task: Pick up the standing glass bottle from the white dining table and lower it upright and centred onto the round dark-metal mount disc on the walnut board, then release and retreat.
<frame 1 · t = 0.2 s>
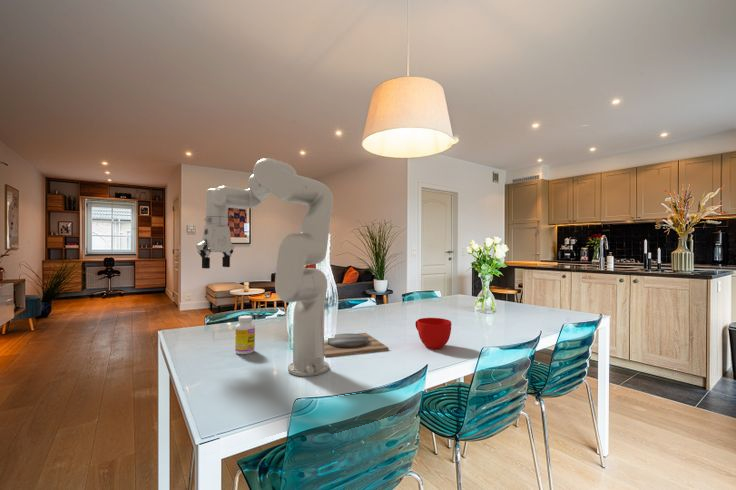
hand: (216, 267, 131), 30 cm above the table, tool pointing down, fingers open, 9 cm apart
mount board: (348, 344, 137), on the table
ceramic cup: (430, 346, 136), on the table
supplement bottle: (245, 352, 127), on the table
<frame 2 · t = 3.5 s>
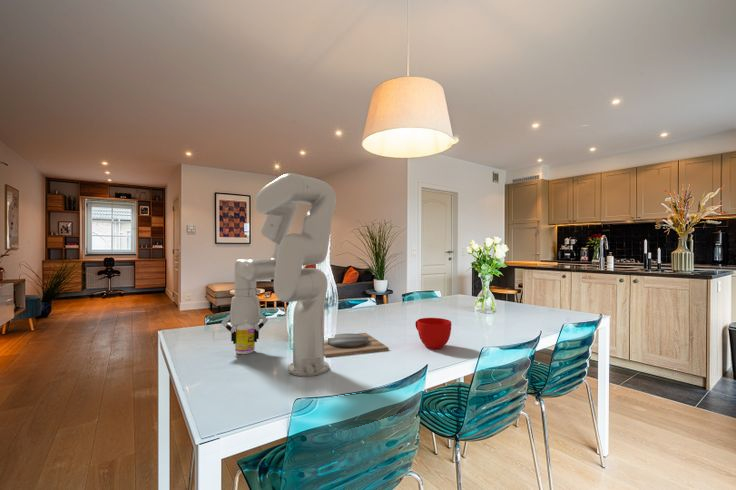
hand: (245, 341, 127), 4 cm above the table, tool pointing down, fingers closed on supplement bottle, 6 cm apart
supplement bottle: (245, 352, 127), on the table, touching gripper
everything else where it was.
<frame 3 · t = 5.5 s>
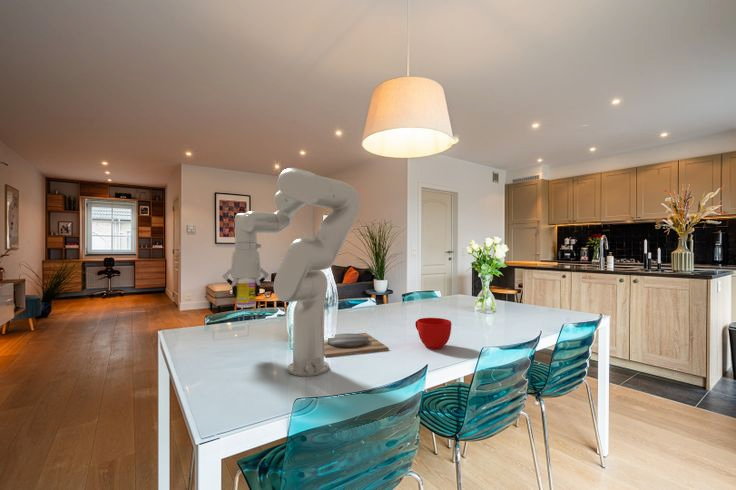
hand: (246, 296, 127), 20 cm above the table, tool pointing down, fingers closed on supplement bottle, 6 cm apart
supplement bottle: (246, 307, 127), point 16 cm above the table, touching gripper
everything else where it was.
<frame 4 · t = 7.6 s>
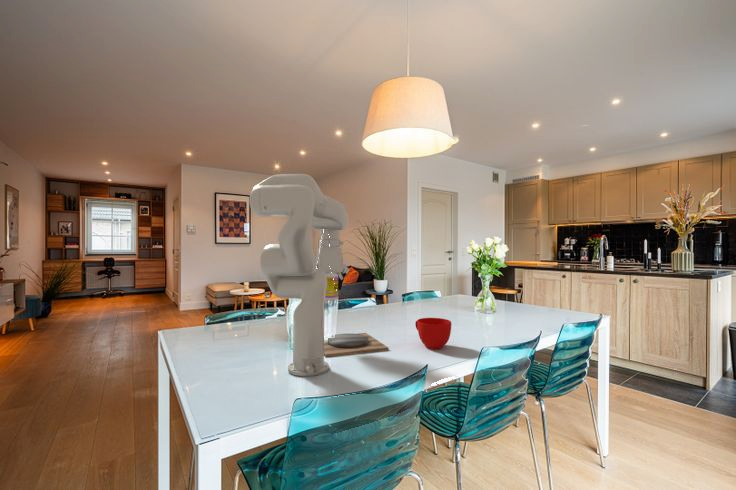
hand: (329, 289, 135), 22 cm above the table, tool pointing down, fingers closed on supplement bottle, 6 cm apart
supplement bottle: (329, 300, 135), point 18 cm above the table, touching gripper
everything else where it was.
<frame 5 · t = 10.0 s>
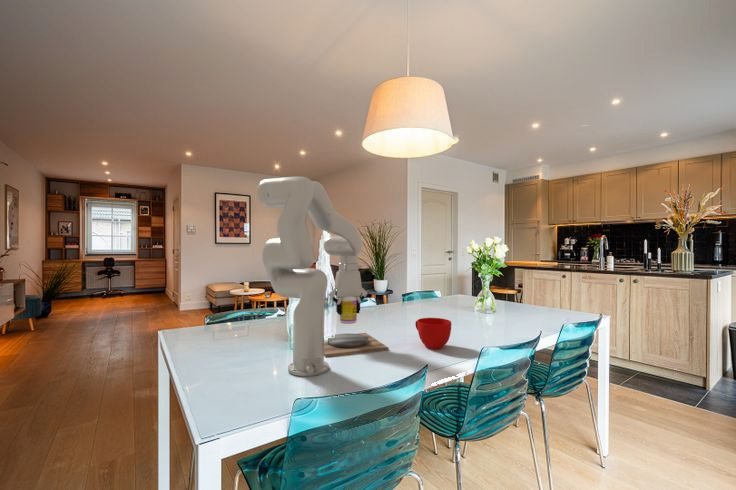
hand: (348, 313, 137), 12 cm above the table, tool pointing down, fingers closed on supplement bottle, 6 cm apart
supplement bottle: (348, 323, 137), point 9 cm above the table, touching gripper
everything else where it was.
when the fingers open (8 cm above the table, at t = 11.9 s): supplement bottle drops 1 cm, resting on mount board.
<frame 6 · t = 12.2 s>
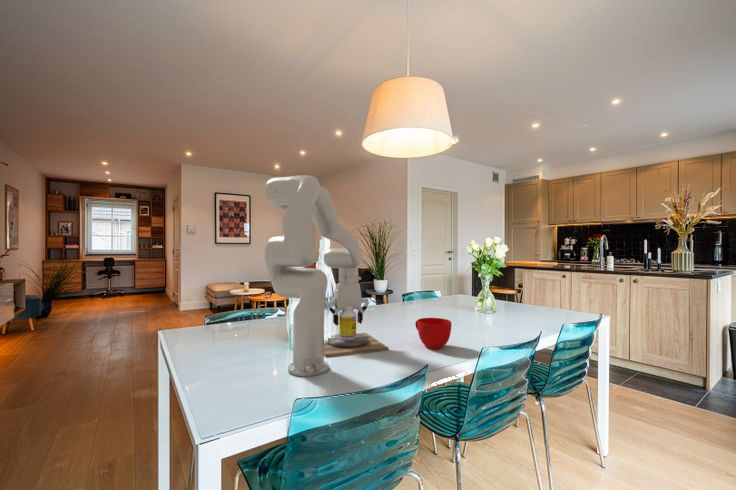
hand: (348, 323, 137), 8 cm above the table, tool pointing down, fingers open, 9 cm apart
supplement bottle: (347, 338, 137), point 2 cm above the table, touching mount board
everything else where it was.
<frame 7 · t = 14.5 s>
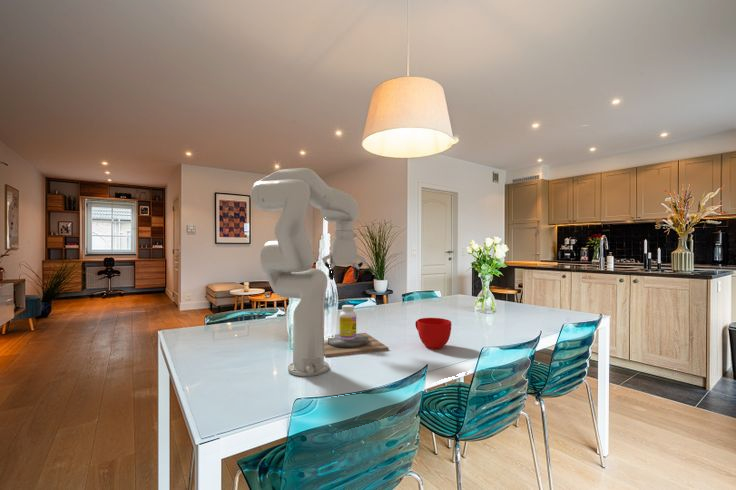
hand: (343, 279, 137), 26 cm above the table, tool pointing down, fingers open, 9 cm apart
nothing on the table moved.
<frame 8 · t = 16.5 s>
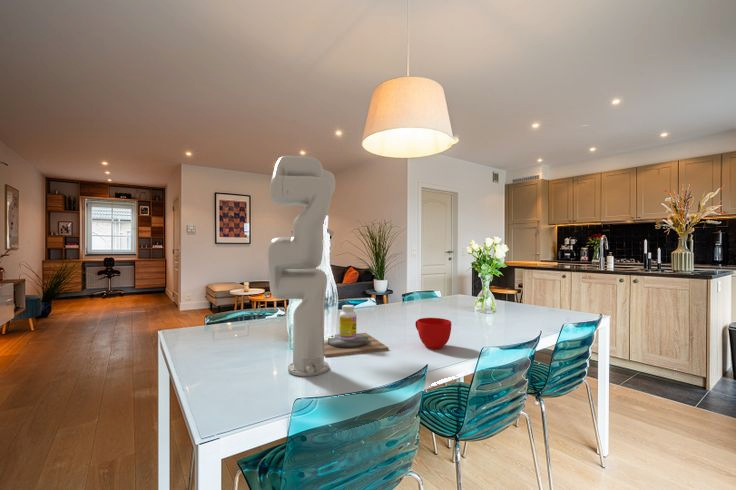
hand: (312, 252, 142), 36 cm above the table, tool pointing down, fingers open, 9 cm apart
nothing on the table moved.
at the end: supplement bottle inside the target area on the mount board (0.1 cm from its centre), point 2.3 cm above the mount board's base; supplement bottle tilted 0°; the gripper is holding nothing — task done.
